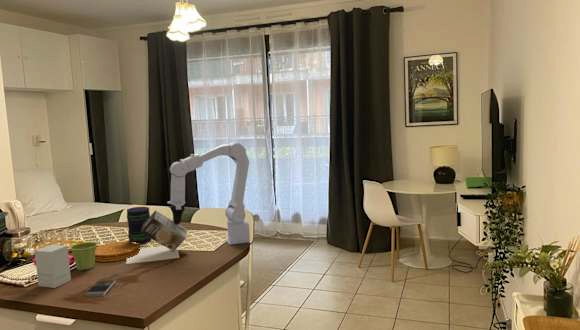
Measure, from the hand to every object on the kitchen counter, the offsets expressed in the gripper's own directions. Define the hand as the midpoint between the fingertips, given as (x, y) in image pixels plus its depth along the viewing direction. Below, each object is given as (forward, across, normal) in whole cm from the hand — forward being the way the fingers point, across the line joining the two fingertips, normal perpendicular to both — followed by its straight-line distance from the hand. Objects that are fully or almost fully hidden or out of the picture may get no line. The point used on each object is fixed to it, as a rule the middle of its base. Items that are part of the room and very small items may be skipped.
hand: (177, 223), depth 179 cm
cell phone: (+15, +32, -26) cm, 44 cm away
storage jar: (+13, -22, -15) cm, 30 cm away
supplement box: (+16, +20, -42) cm, 49 cm away
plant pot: (+15, +7, -34) cm, 37 cm away
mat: (+13, 0, -9) cm, 16 cm away
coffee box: (+8, 0, +2) cm, 8 cm away
